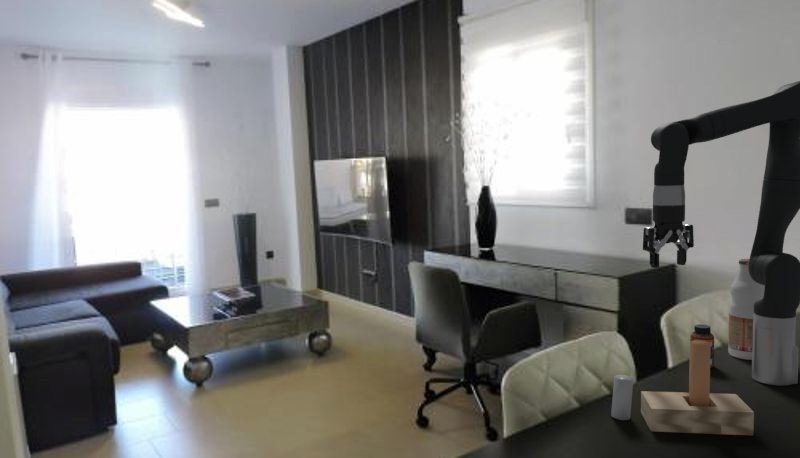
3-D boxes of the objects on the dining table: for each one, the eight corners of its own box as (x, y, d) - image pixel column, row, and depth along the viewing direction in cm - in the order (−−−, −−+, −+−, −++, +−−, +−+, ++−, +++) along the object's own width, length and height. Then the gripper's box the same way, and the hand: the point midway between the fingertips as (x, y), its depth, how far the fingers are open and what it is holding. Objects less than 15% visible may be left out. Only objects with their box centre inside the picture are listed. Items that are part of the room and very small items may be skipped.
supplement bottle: (716, 369, 163) (717, 329, 162) (693, 369, 164) (693, 328, 163) (710, 362, 169) (710, 323, 168) (687, 361, 170) (687, 322, 169)
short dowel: (622, 411, 138) (625, 374, 137) (633, 419, 134) (637, 380, 133) (607, 413, 137) (610, 375, 136) (618, 420, 133) (621, 382, 132)
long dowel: (705, 419, 132) (707, 340, 131) (711, 427, 129) (713, 345, 127) (686, 419, 133) (687, 340, 131) (691, 426, 129) (692, 345, 127)
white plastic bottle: (723, 356, 174) (725, 260, 171) (734, 348, 181) (736, 256, 178) (759, 362, 167) (762, 263, 164) (769, 354, 174) (772, 259, 171)
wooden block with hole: (735, 415, 134) (736, 394, 134) (753, 435, 124) (754, 412, 124) (640, 412, 138) (641, 391, 137) (651, 431, 128) (651, 408, 127)
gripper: (657, 205, 147) (656, 271, 148) (702, 202, 151) (701, 265, 153) (635, 204, 154) (635, 266, 155) (679, 201, 158) (678, 261, 160)
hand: (668, 266), depth 154 cm, fingers open, 8 cm apart
